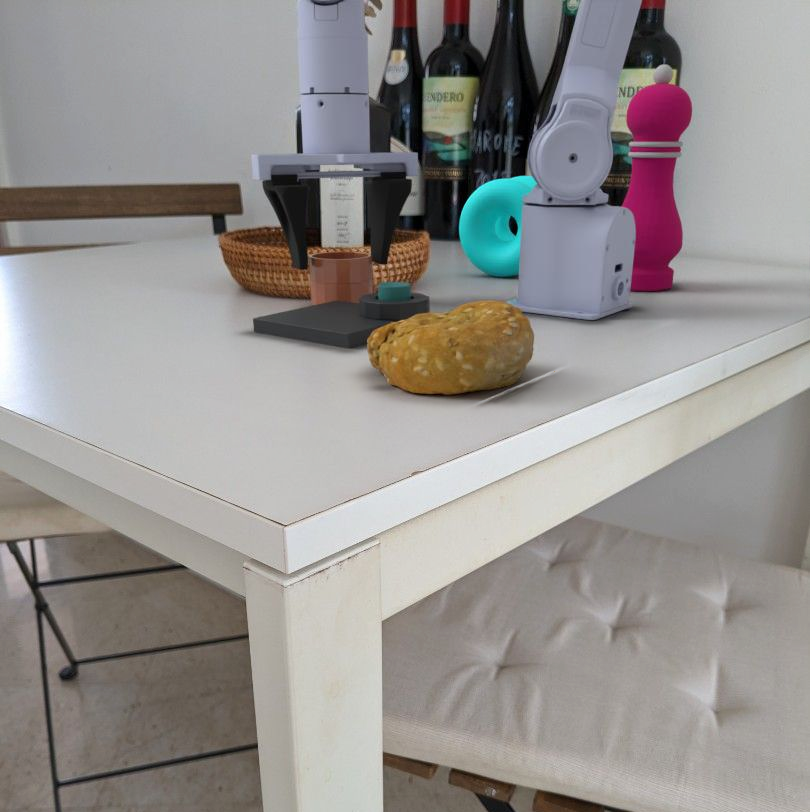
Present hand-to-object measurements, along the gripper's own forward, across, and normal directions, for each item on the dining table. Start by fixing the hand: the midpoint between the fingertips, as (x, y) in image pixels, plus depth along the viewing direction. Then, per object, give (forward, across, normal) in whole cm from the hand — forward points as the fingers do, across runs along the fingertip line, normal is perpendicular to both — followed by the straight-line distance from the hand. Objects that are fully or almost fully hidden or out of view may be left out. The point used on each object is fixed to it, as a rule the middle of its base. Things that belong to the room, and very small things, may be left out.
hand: (340, 265), depth 77 cm
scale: (+4, -4, -10) cm, 11 cm away
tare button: (+1, 0, -11) cm, 11 cm away
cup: (+4, 0, 0) cm, 4 cm away
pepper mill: (+4, +32, -3) cm, 32 cm away
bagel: (+4, -3, -27) cm, 28 cm away
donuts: (+4, +25, +11) cm, 28 cm away
